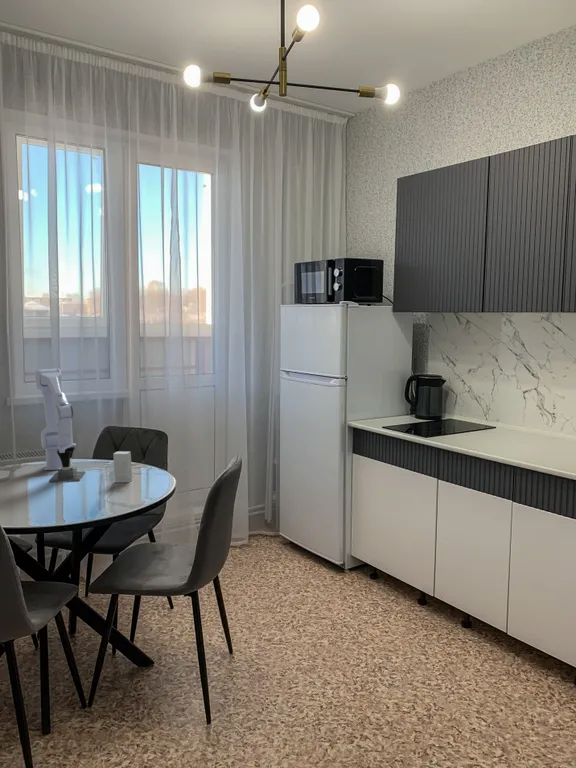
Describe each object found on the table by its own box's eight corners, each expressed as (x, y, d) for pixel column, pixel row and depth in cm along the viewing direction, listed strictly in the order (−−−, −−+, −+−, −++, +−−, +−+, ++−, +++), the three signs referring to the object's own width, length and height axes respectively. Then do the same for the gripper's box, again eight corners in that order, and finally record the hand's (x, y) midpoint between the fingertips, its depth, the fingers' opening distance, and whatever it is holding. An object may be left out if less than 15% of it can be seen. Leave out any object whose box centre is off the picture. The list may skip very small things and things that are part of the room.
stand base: (56, 474, 263) (55, 465, 262) (85, 473, 264) (84, 464, 264) (49, 482, 251) (48, 472, 251) (79, 480, 253) (78, 471, 252)
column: (64, 474, 259) (63, 457, 258) (72, 473, 260) (71, 457, 259) (62, 476, 256) (61, 459, 255) (70, 476, 256) (69, 459, 255)
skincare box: (132, 479, 254) (131, 451, 252) (128, 482, 249) (127, 453, 248) (118, 479, 254) (116, 451, 253) (114, 482, 250) (112, 453, 248)
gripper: (71, 437, 249) (73, 469, 250) (78, 430, 263) (80, 461, 265) (53, 437, 248) (55, 470, 250) (61, 430, 262) (63, 461, 264)
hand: (66, 465), depth 257 cm, fingers closed on column, 3 cm apart
